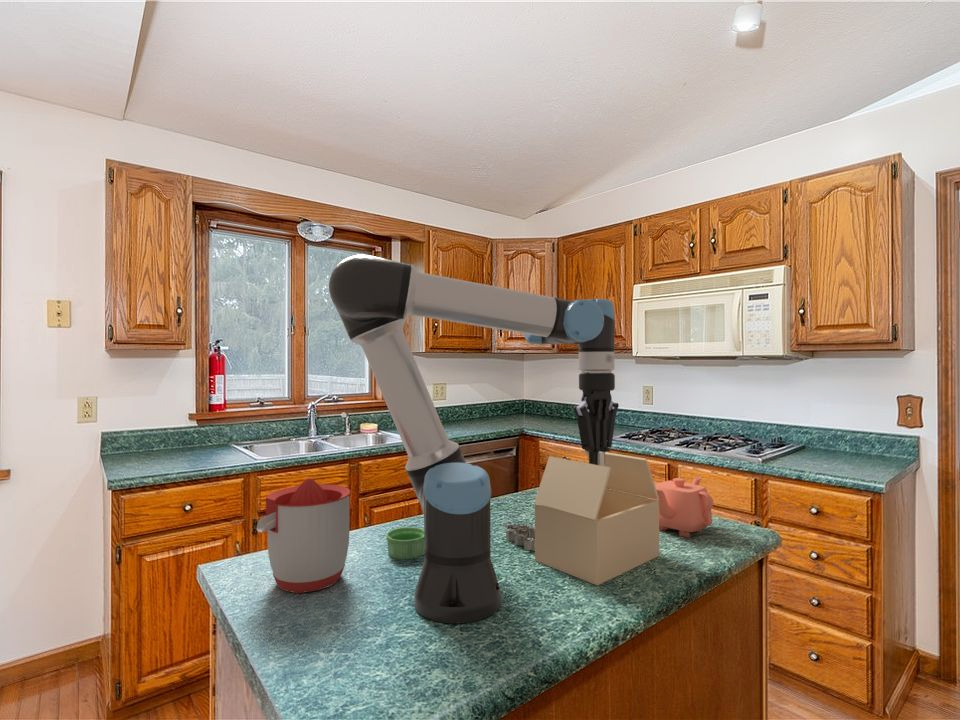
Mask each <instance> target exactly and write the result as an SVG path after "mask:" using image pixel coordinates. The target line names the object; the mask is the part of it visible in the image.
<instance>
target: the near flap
mask: <svg viewBox="0 0 960 720" xmlns="http://www.w3.org/2000/svg"><path fill="white" fill-rule="evenodd" d="M610 471H611V468H610V467H605V466H599V465H594V464H589V462H584V461H583V462H581V461H577V460H571V459H566V458H563V457H562V458H561V457H556V456H551V455H549V456H548V459H547V462H546V465H545V469H544V471H543V474H542V477H541V480H540V483H539V487H538V489H537V492H536V495H535V498H534V502H533V503H534V504H540V505H543V506H547V507H550V508H554V509H557V510H561V511H564V512H568V513H571V514H575V515H578V516H582V517H585V518H589V519H592V520H597V516H598V513H599V509H600V506H601V503H602V499H603V496H604V492H605V489H607V488H606V485H607V482H608V478H609V475H610Z"/></svg>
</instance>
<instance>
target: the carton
mask: <svg viewBox="0 0 960 720" xmlns="http://www.w3.org/2000/svg"><path fill="white" fill-rule="evenodd" d="M534 527H535V539H534V540H535V550H534V561H536V562H537V563H540V564H543V565H545V566H548V567H550V568H551V569H552V568H553V569H555V570H557V571H560V572H563V573H565V574H568V575H570V576H572V577H575V578H577V579H580V580H583V581H586V582H588V583H590V584H593V585H595V586H599V585H601V584H604V583H606V582H607V581H609V580H612V579H614V578H616V577H617V576H620V575H622V574H625V573H627V572H628V571H631V570H633V569H634V568H637V567H639V566H641V565H643V564H646V563H647V562H650V561H651V560H653V559H656V558H658V557H659V556H660V530H659V501H658V500H654V499H649V498H648V497H643V496H639V495H634V494H630V493H625V492H621V491H616V490H612V489H607V488H606V489H605V492H604V496H603V499H602V503H601V506H600V509H599V513H598V516H597V520H592V519H589V518H585V517H582V516H578V515H575V514H571V513H568V512H564V511H561V510H557V509H554V508H550V507H547V506H543V505H540V504H536V503H534Z"/></svg>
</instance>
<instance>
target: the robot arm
mask: <svg viewBox="0 0 960 720" xmlns="http://www.w3.org/2000/svg"><path fill="white" fill-rule="evenodd" d="M328 291H329V296H330V299H331V301H332V303H333V304H334V306H335V309H336V311H337V312H338V315H339V317H340V319H341V322H342V324H343V326H344V328H345V331H346V333H347V336H348V337H349V340H350V342H351V343H355V345H356V344H357V345H359V346H360V347H361V348H362V350H363V353H364V355H365V357H366V359H367V362H368V365H369V367H370V369H371V372H372V373H373V376H374V378H375V381H376V383H377V386H378V388H379V390H380V393H381V395H382V397H383V400H384V402H385V404H386V406H387V409H388V411H389V414H390V416H391V418H392V420H393V423H394V425H395V428H396V430H397V432H398V435H399V437H400V439H401V442H402V444H403V447H404V449H405V451H406V454H407V456H408V459H407V462H406V464H405V466H404V468H405V470H406V473H407V476H408V478H409V480H410V483H411V486H412V487H413V489H414V490H413V491H414V492H415V495H416V499H417V500H418V502H419V504H420V506H421V510H422V513H423V523H424V524H423V526H424V547H425V552H424V559H423V563H422V567H421V570H420V574H419V577H418V581H417V585H416V587H415V589H414V607H415V610H416V611H417V613H418V614H420V616H423V617H424V618H426V619H429V620H431V621H435V622H439V623H442V624H443V623H444V624H468V623H472V622H477V621H480V620H483V619H487V618H488V617H491V616H492V615H493V614H495V613H496V612H497V611H498V610H499V609H500V607H501V602H502V600H501V599H502V593H501V587H500V583H499V581H498V577H497V573H496V570H495V568H494V565H493V562H492V558H491V557H492V556H491V496H492V487H491V480H490V476H489V474H488V472H487V471H486V470H485V469H484V468H483V467H480V466H479V465H473V464H472V463H468V462H466V459H465V457H464V453H463V452H462V449H461V448H460V445H459V443H457V442H456V441H452V440H450V439H449V438H448V436H447V433H446V431H445V429H444V425H443V423H442V421H441V419H440V416H439V413H438V412H437V409H436V407H435V404H434V402H433V400H432V397H431V395H430V393H429V389H428V388H427V385H426V383H425V380H424V379H423V378H424V377H423V375H422V373H421V371H420V368H419V366H418V364H417V361H416V359H415V357H414V354H413V352H412V350H411V347H410V345H409V342H408V340H407V338H406V335H405V333H404V330H403V329H404V325H405V323H406V321H407V318H409V317H410V316H414V317H415V316H416V317H421V318H427V319H433V320H440V321H446V322H453V323H458V324H463V325H470V326H476V327H482V328H488V329H494V330H501V331H507V332H513V333H519V334H523V336H524V339H525V341H526V342H527V343H528V344H531V345H540V346H543V345H578V370H579V371H580V373H579V374H578V388H579V389H578V390H580V391H582V396H581V398H580V399H581V402H580V404H579V405H574V406H573V411H574V413H575V416H576V419H577V426H578V432H579V439H580V445H581V449H582V450H584V451H585V452H586V451H588V452H589V459H588V463H589V464H594V465H599V466H605V452H608V453H610V450H611V449H610V448H611V447H612V445H613V438H614V431H615V423H616V418H617V417H616V416H617V412H618V410H619V403H618V402H614V401H613V399H612V394H611V391H614V390H615V389H616V384H615V383H616V375H615V374H614V373H613V372H612V371H614V370H615V323H616V318H615V308H614V306H615V305H614V302H613V301H612V300H610V299H605V298H591V299H590V298H589V299H582V298H581V299H580V298H579V299H575V300H569V299H565V298H559V297H553V296H548V295H543V294H537V293H532V292H528V291H527V292H526V291H522V290H516V289H510V288H506V287H500V286H495V285H490V284H484V283H479V282H473V281H469V280H463V279H459V278H453V277H447V276H443V275H437V274H431V273H426V272H421V271H419V270H418V269H417V268H416V267H415V265H414V264H409V263H405V262H402V261H401V262H400V261H396V260H391V259H388V258H384V257H378V256H374V255H370V254H369V255H368V254H356V255H352V256H348V257H346V258H344V259H343V260H341V261H340V262H338V264H337V265H336V266H335V267H334V269H333V270H332V272H331V274H330V278H329V282H328Z"/></svg>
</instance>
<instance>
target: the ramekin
mask: <svg viewBox="0 0 960 720" xmlns="http://www.w3.org/2000/svg"><path fill="white" fill-rule="evenodd" d="M385 538H386V540H387V552H388V555H389V556H390V557H392V558H393V559H396V560H412V559H416V558H419V557H421V556H422V555H424V554H425V547H424V529H423V528H420V527H417V526H403V527H398V528H394V529H391V530H389V531H388V532H386V533H385Z"/></svg>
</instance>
